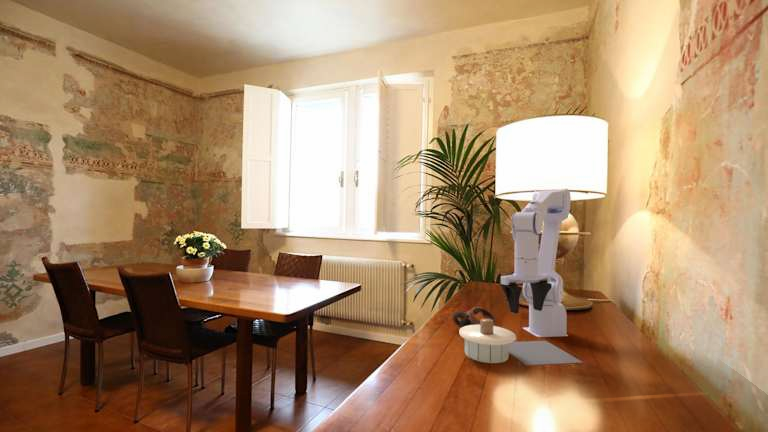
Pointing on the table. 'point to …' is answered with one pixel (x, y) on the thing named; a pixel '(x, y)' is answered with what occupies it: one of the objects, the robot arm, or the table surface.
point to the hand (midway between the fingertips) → (526, 311)
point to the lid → (487, 333)
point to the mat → (540, 353)
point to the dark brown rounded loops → (471, 317)
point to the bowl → (487, 352)
